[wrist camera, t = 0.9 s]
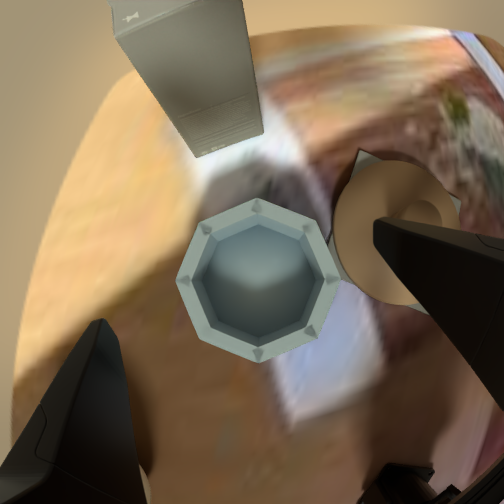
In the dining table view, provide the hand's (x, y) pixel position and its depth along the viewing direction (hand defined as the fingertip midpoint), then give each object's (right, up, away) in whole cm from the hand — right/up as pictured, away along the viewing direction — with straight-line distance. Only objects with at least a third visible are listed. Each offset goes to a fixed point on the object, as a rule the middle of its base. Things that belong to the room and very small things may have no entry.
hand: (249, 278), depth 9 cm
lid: (+12, +2, +15) cm, 19 cm away
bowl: (+1, -2, +15) cm, 15 cm away
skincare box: (-4, +13, +17) cm, 22 cm away
